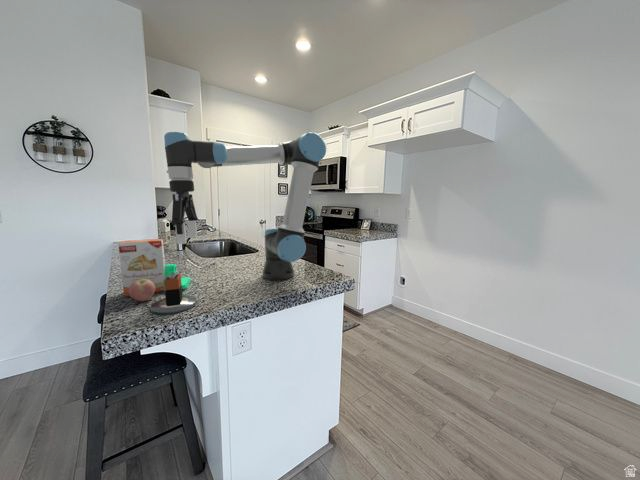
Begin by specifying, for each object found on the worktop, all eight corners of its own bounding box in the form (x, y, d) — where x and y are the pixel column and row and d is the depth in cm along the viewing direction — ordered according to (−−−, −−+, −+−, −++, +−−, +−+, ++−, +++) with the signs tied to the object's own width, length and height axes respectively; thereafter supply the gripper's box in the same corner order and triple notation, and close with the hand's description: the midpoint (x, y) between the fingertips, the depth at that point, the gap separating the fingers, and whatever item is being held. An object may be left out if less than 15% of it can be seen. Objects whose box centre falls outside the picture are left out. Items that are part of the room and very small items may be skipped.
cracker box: (123, 297, 100) (117, 242, 97) (127, 292, 105) (121, 240, 102) (166, 291, 106) (161, 240, 103) (167, 287, 111) (162, 238, 108)
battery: (166, 306, 88) (163, 277, 86) (169, 299, 94) (166, 272, 92) (180, 304, 89) (178, 276, 88) (183, 297, 95) (180, 271, 94)
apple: (126, 305, 92) (123, 283, 91) (135, 297, 99) (133, 277, 98) (151, 303, 94) (149, 281, 92) (159, 296, 101) (157, 275, 100)
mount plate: (201, 297, 100) (201, 294, 99) (189, 312, 86) (189, 309, 86) (161, 299, 97) (161, 296, 97) (142, 315, 84) (142, 312, 83)
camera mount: (185, 291, 107) (183, 266, 105) (164, 293, 104) (161, 268, 103) (191, 282, 118) (189, 260, 116) (172, 284, 116) (169, 261, 114)
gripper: (181, 182, 103) (187, 236, 106) (154, 177, 79) (163, 247, 82) (201, 182, 104) (207, 235, 108) (181, 177, 80) (189, 246, 84)
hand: (188, 240), depth 95 cm, fingers open, 13 cm apart
